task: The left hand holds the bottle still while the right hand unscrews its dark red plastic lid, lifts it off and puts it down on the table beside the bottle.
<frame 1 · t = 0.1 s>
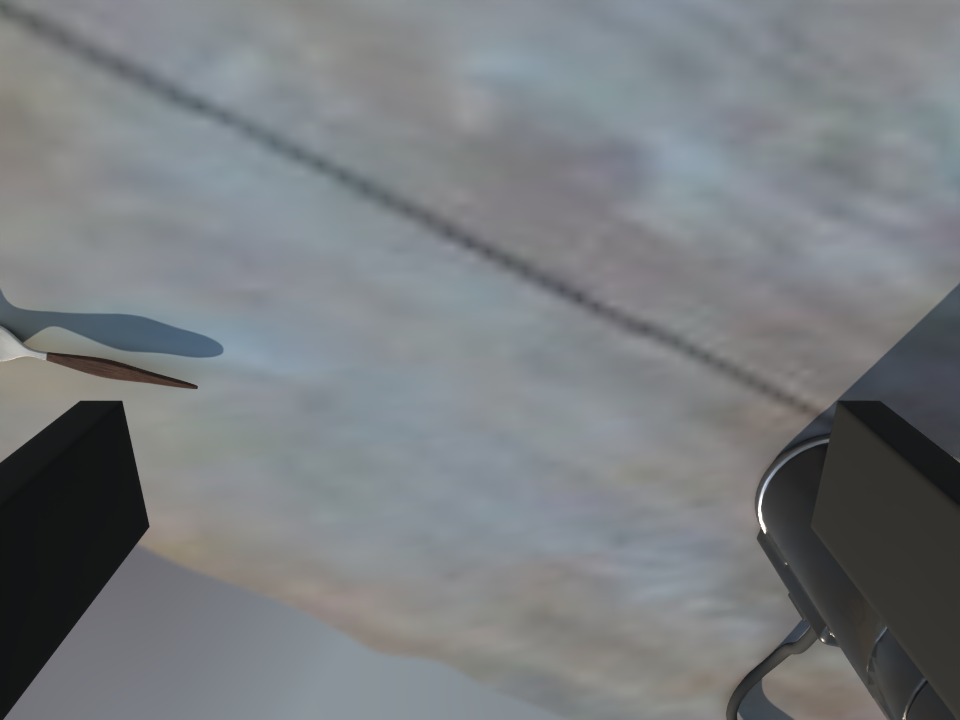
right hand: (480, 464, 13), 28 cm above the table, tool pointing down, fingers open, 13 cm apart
fork: (72, 356, 42), on the table
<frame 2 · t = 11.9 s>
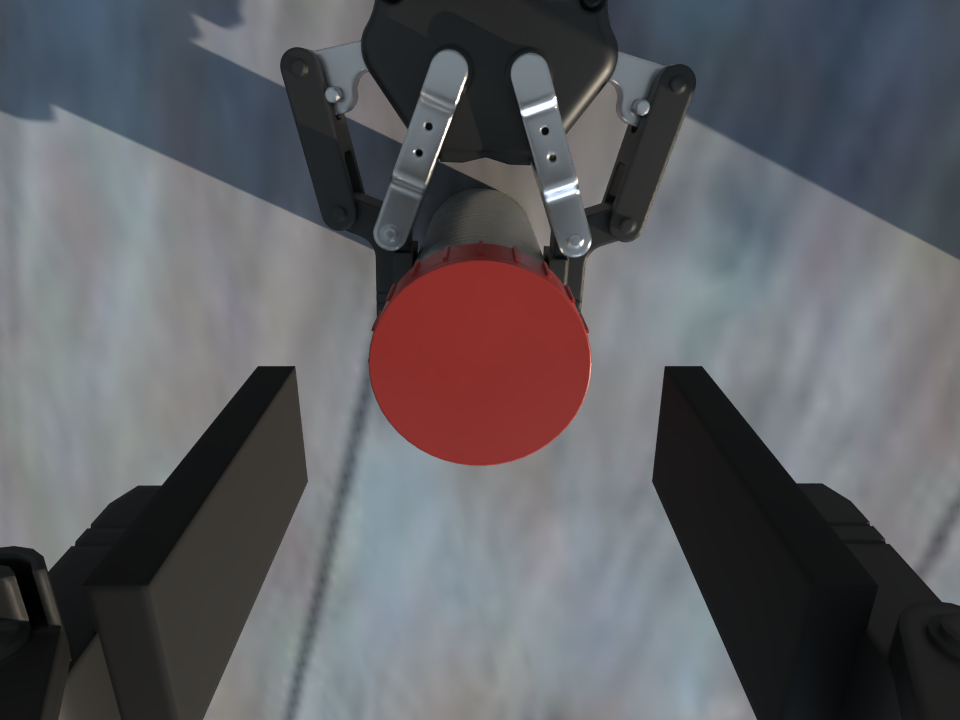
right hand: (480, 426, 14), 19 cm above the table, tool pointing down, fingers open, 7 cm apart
left hand: (478, 340, 27), fingers closed on bottle, 5 cm apart
bottle: (480, 241, 31), on the table, touching left hand
lid: (480, 364, 17), point 15 cm above the table, screwed on, not yet turned
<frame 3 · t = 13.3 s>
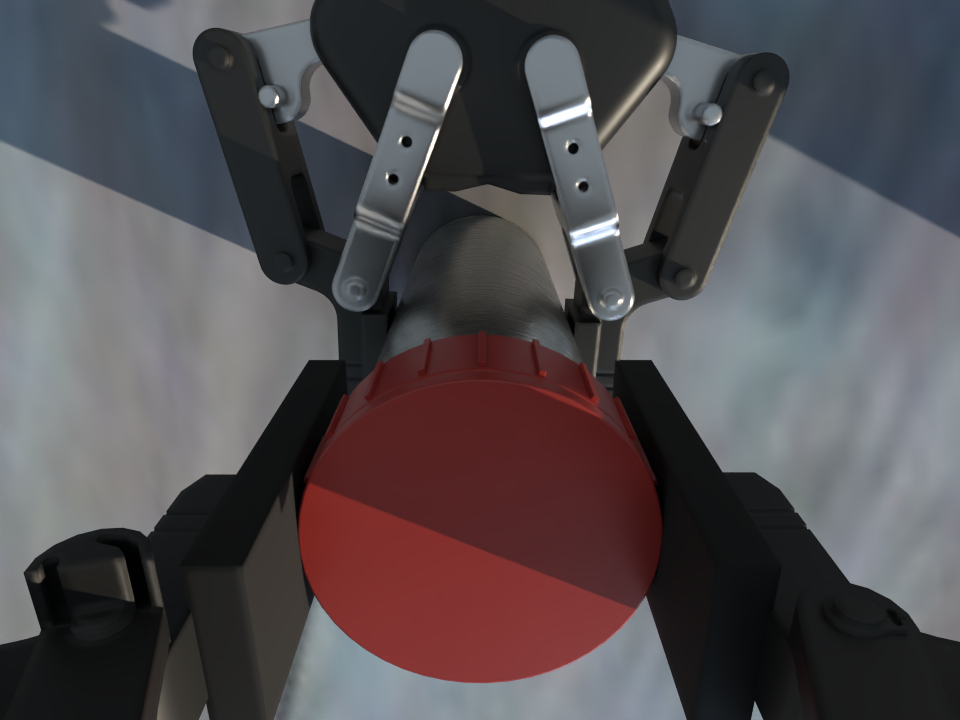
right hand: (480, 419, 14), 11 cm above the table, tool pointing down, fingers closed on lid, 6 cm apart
left hand: (477, 423, 20), fingers closed on bottle, 5 cm apart
bottle: (480, 282, 25), on the table, touching left hand
lid: (480, 533, 11), point 15 cm above the table, screwed on, not yet turned, touching right hand
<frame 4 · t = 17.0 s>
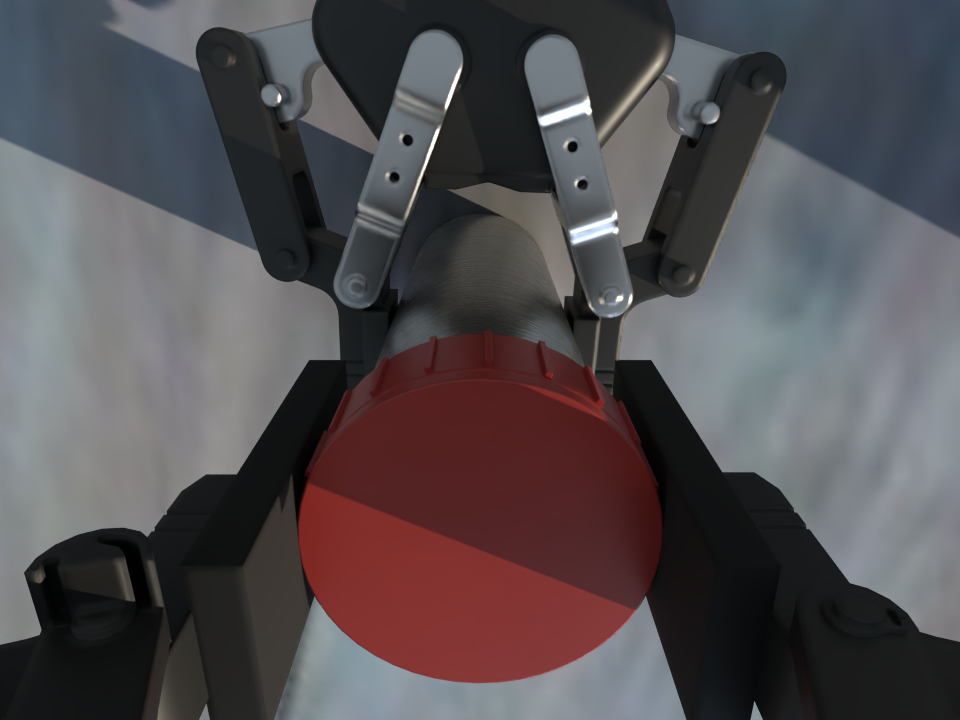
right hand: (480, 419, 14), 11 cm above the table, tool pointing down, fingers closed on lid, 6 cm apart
left hand: (477, 420, 20), fingers closed on bottle, 5 cm apart
bottle: (480, 280, 25), on the table, touching left hand
lid: (480, 533, 11), point 15 cm above the table, turned 124° so far, risen 0.2 cm, still on its thread, touching right hand
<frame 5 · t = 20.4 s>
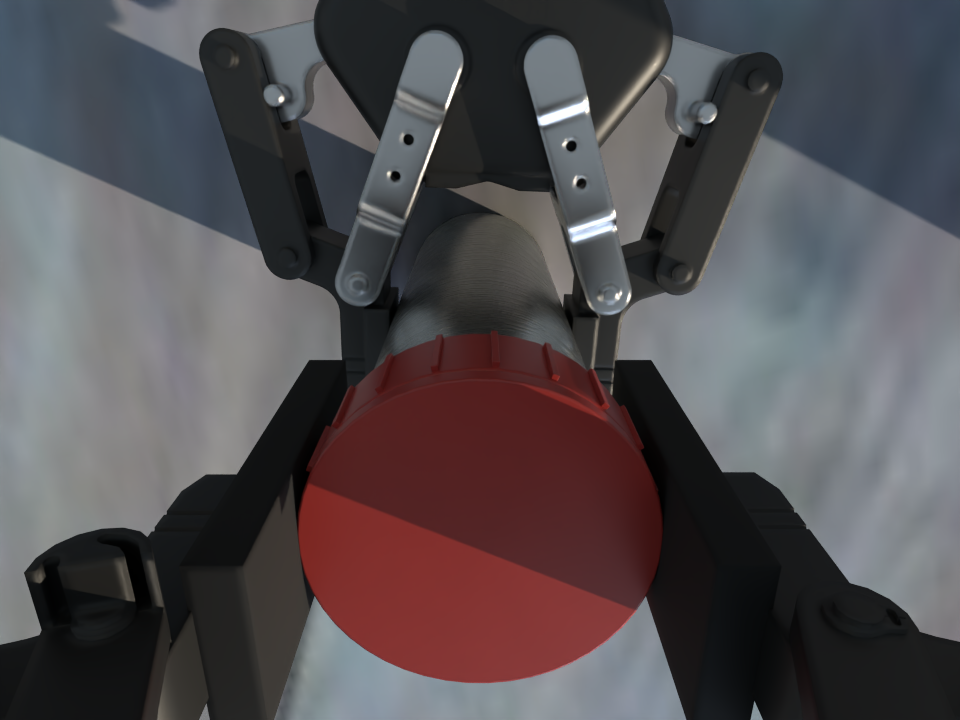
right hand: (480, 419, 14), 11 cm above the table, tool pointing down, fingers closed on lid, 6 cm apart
left hand: (477, 417, 20), fingers closed on bottle, 5 cm apart
bottle: (480, 279, 25), on the table, touching left hand
lid: (480, 533, 11), point 15 cm above the table, turned 248° so far, risen 0.4 cm, still on its thread, touching right hand
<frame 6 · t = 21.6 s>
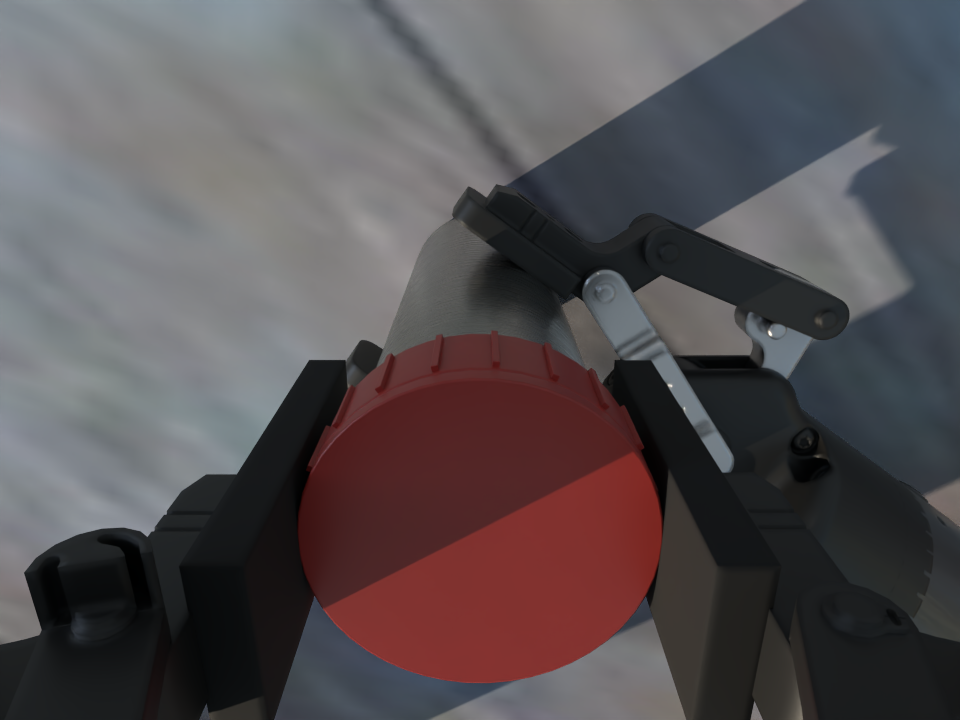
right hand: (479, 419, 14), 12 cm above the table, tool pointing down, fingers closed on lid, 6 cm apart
left hand: (404, 285, 19), fingers closed on bottle, 5 cm apart
bottle: (480, 279, 25), on the table, touching left hand
lid: (480, 533, 11), point 16 cm above the table, off its thread, touching right hand
when the right hand's fingers open (0 cm above the table, at t = 27.2 s): lid drops 3 cm, point 2 cm above the table.
when the left hand's fingers open (6 cm above the table, at t = 27.9 s): bottle stays where it is, on the table.
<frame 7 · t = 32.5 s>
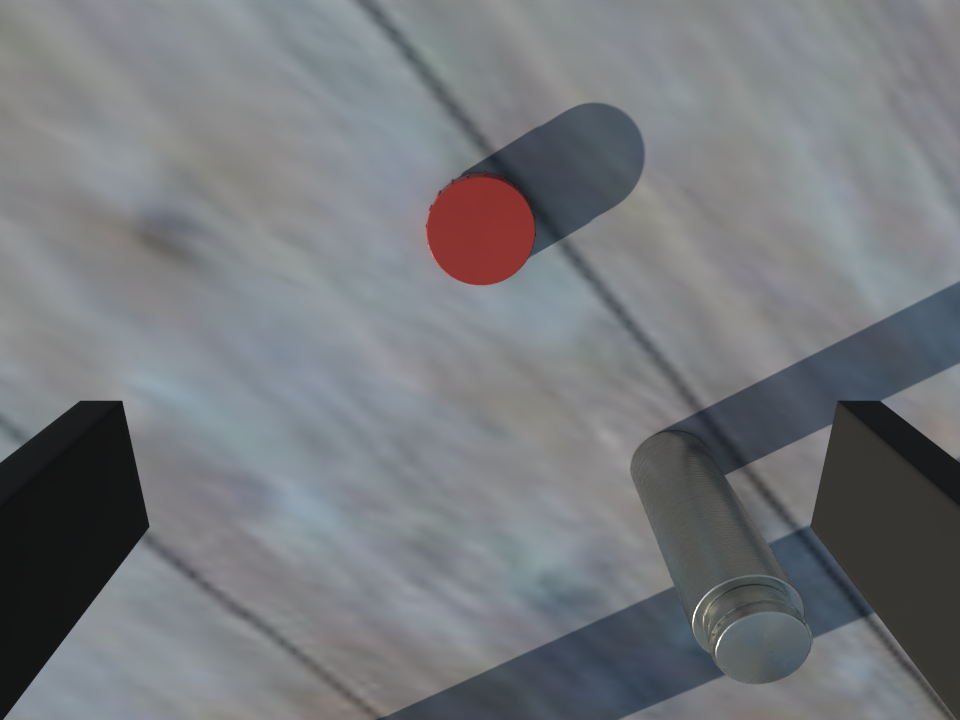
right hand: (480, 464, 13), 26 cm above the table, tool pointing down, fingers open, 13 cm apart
bottle: (669, 465, 42), on the table
lid: (480, 231, 35), point 2 cm above the table, off its thread
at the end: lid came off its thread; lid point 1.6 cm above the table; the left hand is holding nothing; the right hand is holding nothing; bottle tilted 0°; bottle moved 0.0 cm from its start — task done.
